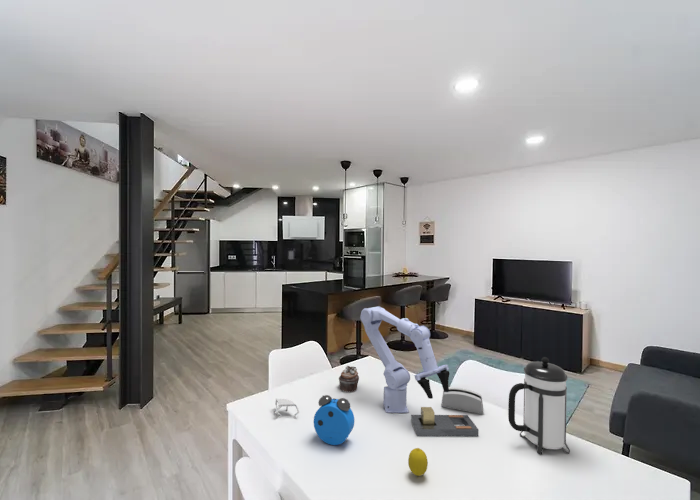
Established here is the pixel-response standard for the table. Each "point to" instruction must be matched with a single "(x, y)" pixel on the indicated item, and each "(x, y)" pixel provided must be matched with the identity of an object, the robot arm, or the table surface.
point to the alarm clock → (333, 420)
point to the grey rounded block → (463, 400)
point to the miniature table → (284, 403)
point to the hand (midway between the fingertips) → (438, 395)
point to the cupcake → (349, 379)
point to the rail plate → (445, 426)
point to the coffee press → (542, 405)
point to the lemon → (417, 462)
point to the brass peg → (427, 416)
